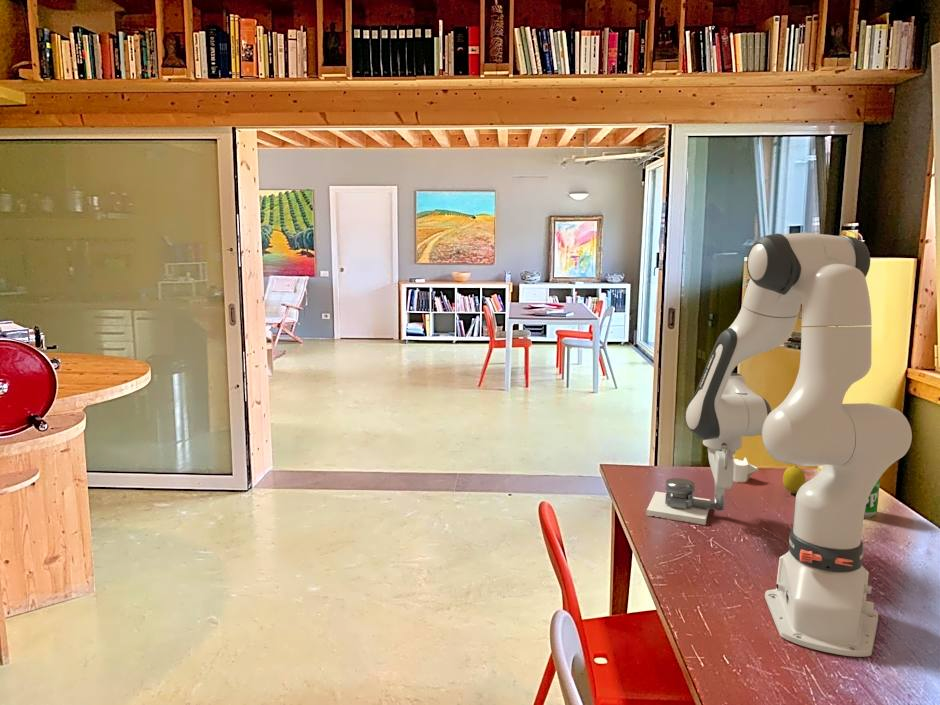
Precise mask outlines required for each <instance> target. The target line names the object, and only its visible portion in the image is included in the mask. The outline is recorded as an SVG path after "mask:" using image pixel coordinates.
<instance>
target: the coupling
mask: <svg viewBox="0 0 940 705" xmlns="http://www.w3.org/2000/svg"><path fill="white" fill-rule="evenodd" d="M695 486H696V484H695V482H694V481H692V480H689V479H686V478H679V477H675V478H674V477H673V478H668V479H666V480H665V491H666V492H665V493H666V499H665V504H669V502H670V505H669V506H671V507H678V508H684V509H686V505H687V501H689V502H688V507H689V508H692V506H697V507H703V508H709V510H710V509H711V510H716V511H724V509H725V498H726V497H725V496H726V488H724V492H723V495H716V493H715V492H714V497H713V499H714V500H710V501H708V500H701V499H694V498H693V497H695V496H694V495H695V488H696V487H695ZM671 494H673V496H674V494H676V495H686V498H680V497H673V496H671Z"/></svg>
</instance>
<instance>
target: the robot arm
mask: <svg viewBox="0 0 940 705" xmlns="http://www.w3.org/2000/svg"><path fill="white" fill-rule="evenodd" d="M868 248H869V247H868V246H867V245H866V243H865V242H864V241H863V240H861V239H859V238H857V237H853V236H850V235H844V234H841V235H832V234H821V233H813V232H796V233H785V234H782V233H772V234H767V235H764V236H760V237H758V238H757V239H756V240H755V241H754V242H753V244H752V245H751V247H750V249H749V250H748V254H747V258H746V259H747V260H746V269H747V274H748V276H749V281H748V284H747V287H746V289H745V294H744V297H743V299H742V300H743V301H742V304H741V308H740V310H739V312H738V314H737V316H736V318H735V319H734V321H733V322H732V323H731V324H730V326H729V327H728V328H726V329H725V330H723V331H722V332H721V333H720V334H719V336H718V337H717V339H716V341H715V344H714V346H713V349H712V350H711V352H710V355H709V358H708V361H707V363H706V365H705V368H704V370H703V372H702V376H701V377H700V381H699V383H698V385H697V388H696V390H695V392H694V394H693V395H692V397H691V399H690V400H689V401H688V404H687V405H686V408H685V414H684V418H685V424H686V427H687V428H688V429H689V430H690V432H691V433H692V434H694V435H695V436H696V437H697V438H699V439H700V440H702V444H703V446H705V447H707V457H708V462H709V466H710V470H711V473H712V477H713V480H714V487H713V488H714V494H715V493H716V495H723V492H724V488H725V490H726V489H729V490H731V489H732V488H733V486H734V481H733V473H734V459H735V458H734V455H735V454H736V452H737V451H738V450H741V448H742V447H743V446H742V444H743V437H754V436H755V437H756V436H759V435H760V436H761V439H762V443H763V446H764V448H765V450H766V451H767V454H769V456H770V457H771V458H772V459H773V460H775V462H778V463H784V464H788V465H793V466H794V465H796V466H801V467H817V466H818V467H820V466H821V469H820V470H819V472H818V473H817V474H816V475H815V476H814V477H812V478H811V479H809V480H808V481H805V483H804V484H803V485H802V486H801V487H800V488H799V490H798V492H796V493H795V494H796V495H795V501H794V502H795V503H794V505H795V506H794V516H793V527H792V528H791V530H790V533H789V537H788V551H787V552H786V553H784V554H782V555H781V556H779V560H778V568H777V569H778V570H777V577H776V585H775V586H776V588H774V589H768V590H765V593H764V598H765V601H766V603H767V606H768V609H769V611H770V614H771V616H772V619H773V621H774V624H775V627H776V629H777V632H778V634H779V636H780V637H781V638H783V639H785V640H787V641H788V642H791V643H794V644H796V645H799V646H802V647H805V648H808V649H811V650H816V651H820V652H824V653H830V654H832V655H834V654H835V655H840V656H846V657H856V658H857V657H871V656H872V654H873V649H874V644H875V641H876V640H875V639H876V636H877V635H876V634H877V628H878V624H879V623H878V622H879V612H878V611H876V610H874V608H875V602H873V601H868V600H867V594H868V595H871V594H872V590H873V587H872V585H869V584H868V582H869V574H870V573H869V571H868V570H867V569H866V568H865V567H864V566H863V558H864V542H863V540H862V534H863V528H864V526H863V525H864V520H865V518H864V514H865V508H866V504H867V501H868V498H869V496H870V493H871V491H872V489H873V488H874V486H875V484H876V483H877V481H878V480H879V478H880V477H882V476H883V474H884V473H885V472H886V470H888V469H889V467H890V466H892V465H893V464H894V463H895V462H897V461H898V460H900V459H901V458H903V457H904V456H906V454H907V452H908V451H909V449H910V447H911V445H912V441H913V440H912V439H913V434H912V428H911V425H910V423H909V421H908V418H907V417H906V416H905V415H904V414H903V412H901V411H900V410H899V409H897V408H896V407H895V408H894V407H891V406H885V405H882V404H881V405H880V404H875V403H869V402H866V403H862V402H861V403H858V402H857V403H844V399H845V395H846V393H847V392H848V390H849V389H850V388H851V386H852V385H853V384H855V383H857V382H858V381H860V380H862V379H863V378H865V376H866V375H868V373H869V372H870V370H871V366H872V306H871V299H870V298H871V297H870V292H869V287H868V284H867V283H868V282H867V278H866V277H867V275H868V273H869V270H870V266H871V255H870V251H869V249H868ZM800 311H801V322H800V324H801V333H800V340H801V341H800V344H801V345H800V356H799V358H800V359H799V360H800V361H799V367H798V372H797V375H796V379H795V381H794V383H793V386H792V388H791V390H790V391H789V393H788V394H787V395H786V397H785V398H784V400H783V401H782V402H781V403H780V404H779V405H778V406H776V407H775V408H774V409H773V410H772V408H771V405H770V404H769V401H767V399H765V398H764V397H763V396H762V395H760V394H757V393H755V392H754V391H753V390H752V389H751V388H750V387H749V386H748V385H747V383H746V380H745V376H744V375H742V374H740V373H737V372H733V371H734V370H735V368H736V367H737V366H738V365H739V364H741V363H743V362H744V361H746V360H748V359H750V358H752V357H755V356H757V355H760V354H763V353H766V352H770V351H773V350H775V349H777V348H778V347H780V346H782V345H784V344H785V343H786V342H787V341H788V340H789V339H790V337H791V335H792V334H793V332H795V331H794V330H795V328H796V325H797V321H798V317H799V315H800ZM880 479H881V478H880Z"/></svg>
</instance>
